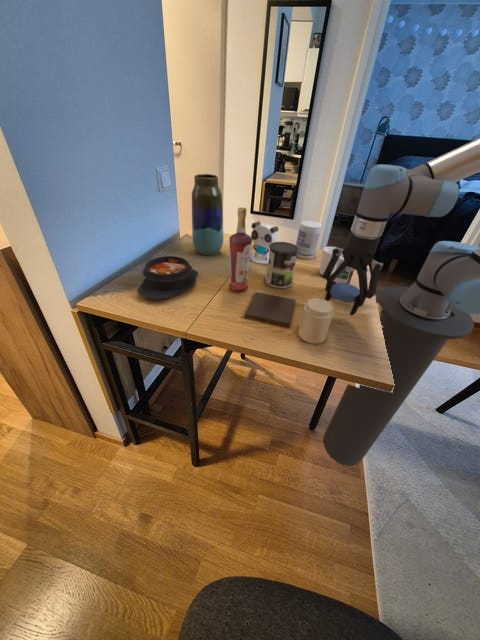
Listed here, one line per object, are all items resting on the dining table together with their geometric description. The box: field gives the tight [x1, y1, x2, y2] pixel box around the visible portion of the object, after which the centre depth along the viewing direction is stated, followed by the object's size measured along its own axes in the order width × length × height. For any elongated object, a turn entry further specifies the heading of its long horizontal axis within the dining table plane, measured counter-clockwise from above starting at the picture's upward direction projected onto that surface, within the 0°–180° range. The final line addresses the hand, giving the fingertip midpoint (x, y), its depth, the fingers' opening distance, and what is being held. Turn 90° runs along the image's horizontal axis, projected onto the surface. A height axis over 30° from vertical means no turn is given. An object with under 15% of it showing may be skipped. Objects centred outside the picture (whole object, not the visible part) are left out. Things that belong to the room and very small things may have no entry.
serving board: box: [244, 291, 296, 328], centre depth 85 cm, size 14×14×2 cm
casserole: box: [136, 255, 199, 300], centre depth 92 cm, size 25×19×8 cm
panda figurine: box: [250, 221, 279, 265], centre depth 113 cm, size 12×11×15 cm
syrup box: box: [333, 254, 355, 285], centre depth 91 cm, size 6×6×14 cm
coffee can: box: [265, 241, 298, 289], centre depth 97 cm, size 10×10×14 cm
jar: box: [297, 297, 335, 344], centre depth 73 cm, size 8×8×10 cm
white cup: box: [318, 246, 338, 276], centre depth 106 cm, size 8×8×10 cm
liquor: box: [228, 207, 253, 293], centre depth 87 cm, size 7×7×28 cm
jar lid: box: [330, 283, 360, 303], centre depth 77 cm, size 8×8×2 cm
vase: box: [191, 173, 225, 256], centre depth 111 cm, size 14×14×31 cm
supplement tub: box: [295, 220, 323, 260], centre depth 118 cm, size 10×10×15 cm
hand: (339, 306), depth 81 cm, fingers closed on jar lid, 8 cm apart
